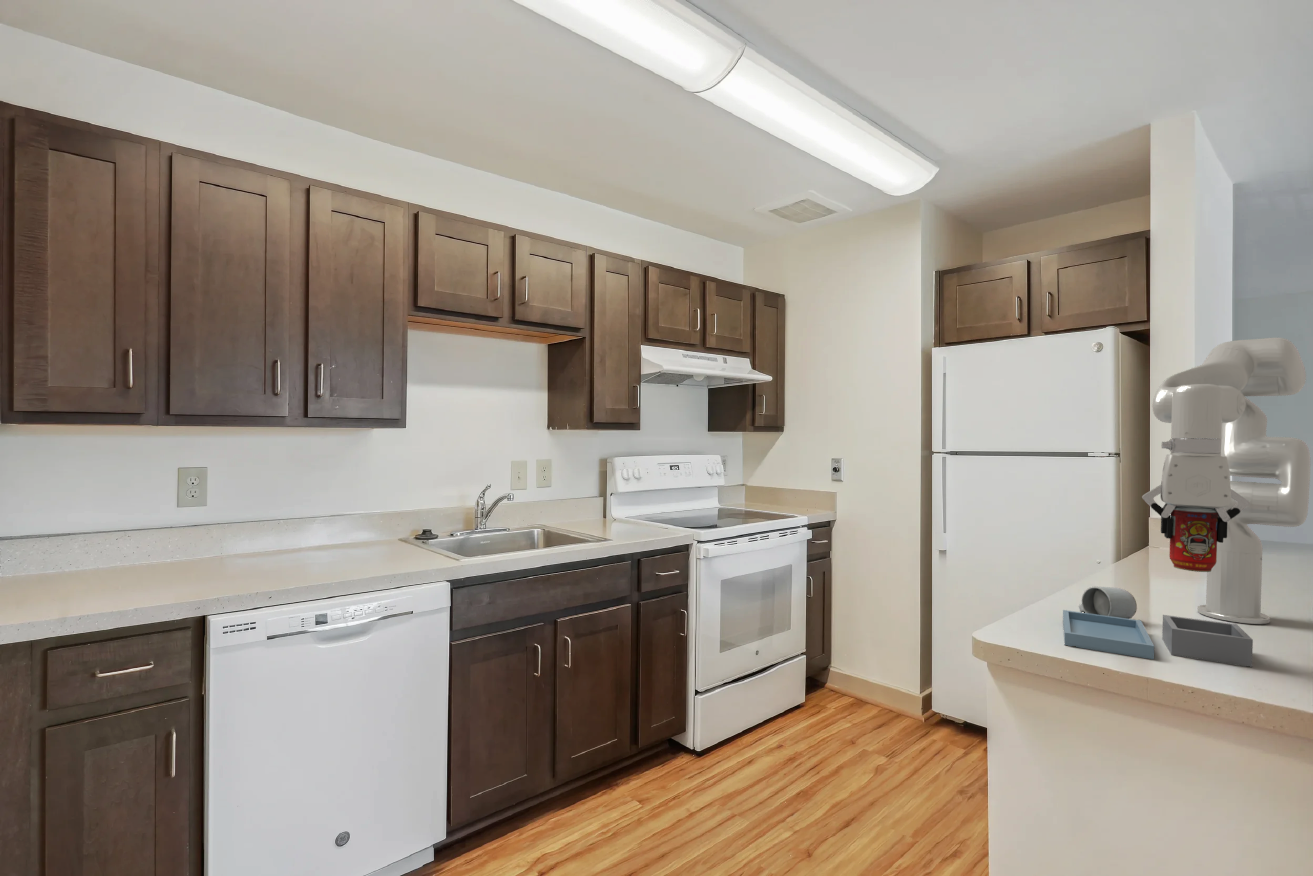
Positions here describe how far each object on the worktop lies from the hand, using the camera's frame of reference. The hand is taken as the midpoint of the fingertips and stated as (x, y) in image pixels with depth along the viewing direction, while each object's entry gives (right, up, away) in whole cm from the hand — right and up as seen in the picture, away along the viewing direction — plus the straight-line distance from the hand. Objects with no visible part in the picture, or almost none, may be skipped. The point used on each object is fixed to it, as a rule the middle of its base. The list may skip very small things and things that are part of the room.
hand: (1192, 538), depth 125 cm
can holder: (+1, -22, -1) cm, 22 cm away
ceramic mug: (-3, -22, +22) cm, 31 cm away
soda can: (0, -6, 0) cm, 6 cm away
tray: (-13, -21, +7) cm, 26 cm away
